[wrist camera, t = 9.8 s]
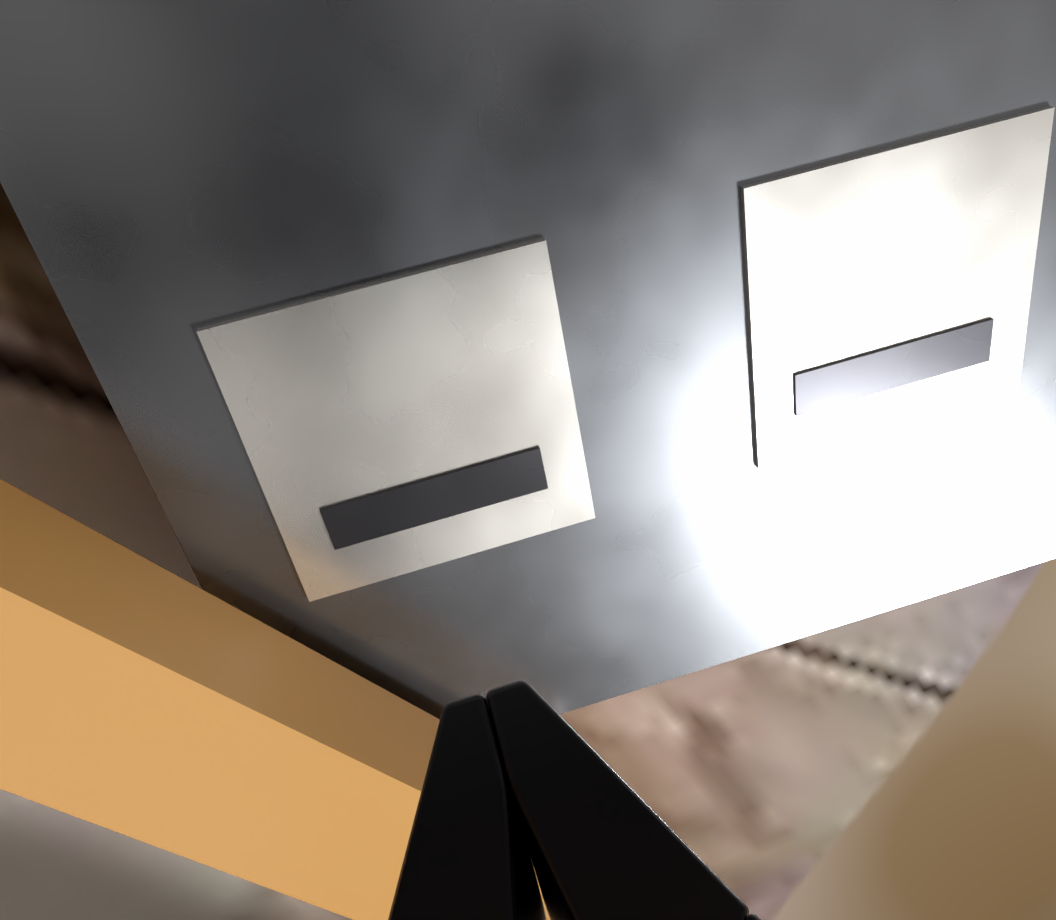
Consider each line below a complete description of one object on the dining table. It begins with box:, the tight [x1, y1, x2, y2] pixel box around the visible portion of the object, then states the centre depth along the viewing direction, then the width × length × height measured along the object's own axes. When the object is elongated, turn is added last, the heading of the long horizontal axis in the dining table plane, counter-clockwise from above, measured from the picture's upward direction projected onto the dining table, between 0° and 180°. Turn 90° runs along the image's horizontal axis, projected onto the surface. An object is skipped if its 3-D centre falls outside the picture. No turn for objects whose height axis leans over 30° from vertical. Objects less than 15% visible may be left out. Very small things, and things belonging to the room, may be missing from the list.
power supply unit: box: [0, 0, 1056, 719], centre depth 17 cm, size 18×16×3 cm
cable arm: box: [0, 479, 550, 920], centre depth 15 cm, size 17×3×2 cm, turn 43°
